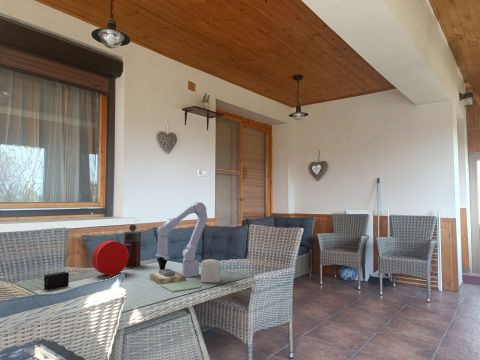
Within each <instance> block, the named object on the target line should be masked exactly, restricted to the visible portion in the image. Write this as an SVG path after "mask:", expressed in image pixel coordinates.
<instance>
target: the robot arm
mask: <svg viewBox="0 0 480 360" xmlns="http://www.w3.org/2000/svg"><path fill="white" fill-rule="evenodd" d="M207 213H208V212H207V206H205V204H204V203H203V202H201V201H200V202H199V201H198V202H197V201H195V202H194V203H193V204H190V205H189V206H188V207H187V208H185V209H184V210H183V211H182V212H180V213H179V214H178V215H177V216H176V217H170V218H168V220H167V221H166V222H164V223H162V226H161V225H160V226H159V227H158V229H157V231H156V232H157V253H156V254H155V255H154V256H155V257H158V258H156V261H157V263H158V267H159V270H163V269H166V265H167V263H168V260H170V256H169V255H168V253H169V252H168V243H169V242H168V241H169V239H168V235H169V232H172V231H173V230H174V229H175V228H177V227H178V226H179V223H180V222H181V221H182V220H184V219H185V218H186V217H187V216H189V215H190V214H196V216H197V222H196V224H195V227H194V229H193V231H192V234H191V236H190V239H189V242H188V243H187V245H186V247H185V248H184V249H183V250H182V252H181V253H182V257H183V259H182V273H181V274H183V275H185V276H186V278H190V277H191V278H192V277H198V276H200V263H199V260H197V259H195V258H196V252H197V246H198V243H199V241H200V238H201V236H202V233H203V231H204V229H205V226H206V223H207V221H208V214H207Z"/></svg>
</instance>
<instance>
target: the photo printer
mask: <svg viewBox="0 0 480 360" xmlns="http://www.w3.org/2000/svg"><path fill="white" fill-rule="evenodd" d="M220 267H221V264H220V261H219V260H217V259H213V258H212V259H211V258H208V259H204V260H202V261H201V268H200V282H201V283H220V280H221V279H220V272H221V271H220V269H221V268H220Z"/></svg>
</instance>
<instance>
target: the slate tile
mask: <svg viewBox="0 0 480 360" xmlns="http://www.w3.org/2000/svg"><path fill="white" fill-rule="evenodd" d="M175 271H176V270H173V269H171V268H165V269H163V270H160V269H158V273H159V274H161V275H163V276H173V275H175Z"/></svg>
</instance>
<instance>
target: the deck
mask: <svg viewBox="0 0 480 360" xmlns="http://www.w3.org/2000/svg"><path fill="white" fill-rule="evenodd" d="M174 271H175V275H173V276H163V275H161V274H159V272H153V273H152V272H151V273H149V278H148V279H149V280H150V279H151V280H150V281H152V282H154V283H156V284H157V285H159V286H160V284H165V283H172V282H179V281H187V277H186V276H185V275H183V274H182V273H181V272H178V271H176V270H174Z"/></svg>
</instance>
